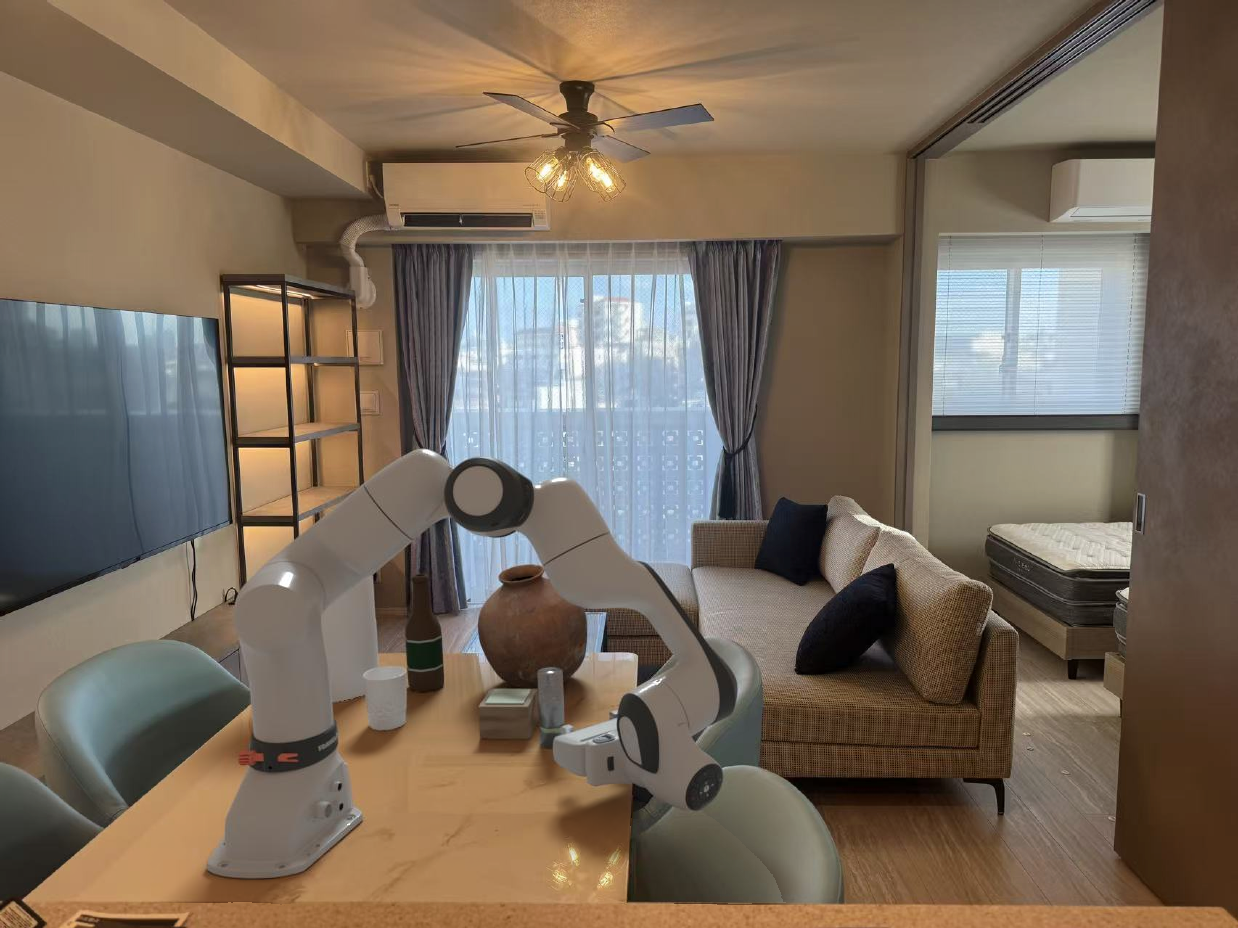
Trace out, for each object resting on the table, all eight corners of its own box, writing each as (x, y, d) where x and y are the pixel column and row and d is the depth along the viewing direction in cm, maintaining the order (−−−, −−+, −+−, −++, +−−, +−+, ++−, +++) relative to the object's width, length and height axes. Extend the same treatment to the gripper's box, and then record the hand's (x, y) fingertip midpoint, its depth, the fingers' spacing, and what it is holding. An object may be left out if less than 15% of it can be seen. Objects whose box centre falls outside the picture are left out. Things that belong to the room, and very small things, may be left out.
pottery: (597, 665, 194) (593, 555, 192) (577, 704, 172) (572, 580, 169) (498, 664, 198) (493, 555, 195) (465, 702, 175) (459, 579, 172)
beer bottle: (440, 692, 181) (434, 578, 179) (403, 693, 181) (396, 579, 179) (448, 679, 189) (442, 570, 186) (412, 680, 189) (406, 571, 186)
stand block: (529, 739, 156) (527, 705, 155) (480, 738, 157) (478, 704, 156) (538, 719, 165) (537, 687, 164) (492, 719, 166) (490, 686, 165)
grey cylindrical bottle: (563, 748, 151) (560, 675, 150) (537, 748, 152) (534, 675, 151) (567, 737, 156) (565, 667, 155) (542, 737, 156) (539, 667, 155)
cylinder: (373, 699, 178) (364, 564, 175) (285, 706, 176) (275, 569, 173) (385, 671, 195) (377, 548, 193) (305, 677, 193) (296, 552, 191)
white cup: (415, 716, 169) (412, 665, 168) (400, 732, 161) (397, 679, 160) (375, 715, 170) (372, 665, 169) (359, 732, 162) (356, 679, 161)
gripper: (691, 712, 137) (639, 689, 149) (581, 748, 126) (534, 719, 137) (692, 751, 138) (641, 724, 149) (583, 790, 127) (536, 757, 138)
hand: (589, 722), depth 143 cm, fingers open, 8 cm apart
